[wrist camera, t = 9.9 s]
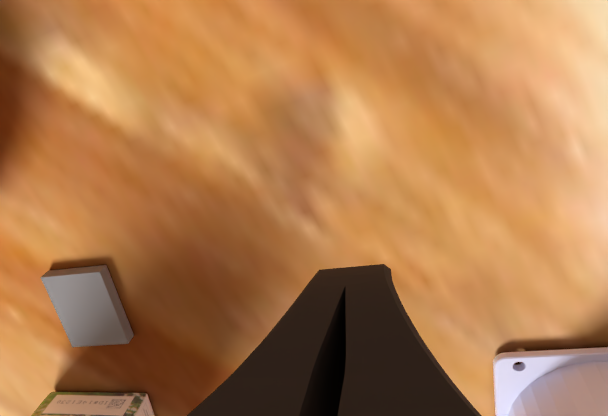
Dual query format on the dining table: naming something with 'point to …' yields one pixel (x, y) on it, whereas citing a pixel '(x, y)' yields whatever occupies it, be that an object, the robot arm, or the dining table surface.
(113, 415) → the syrup box
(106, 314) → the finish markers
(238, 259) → the dining table surface
